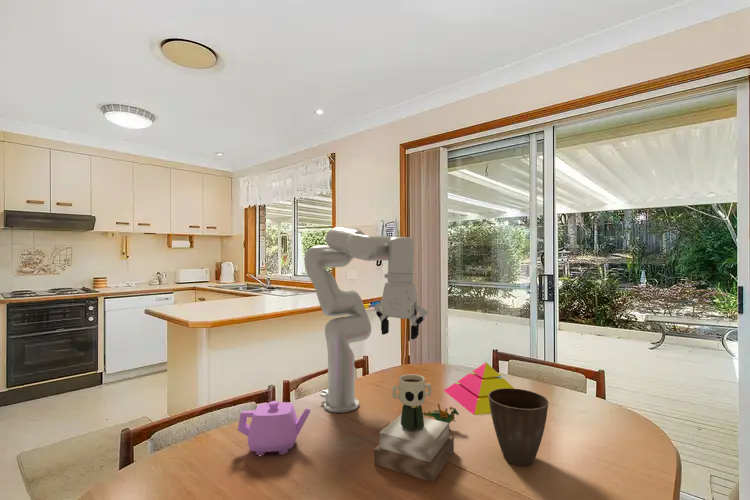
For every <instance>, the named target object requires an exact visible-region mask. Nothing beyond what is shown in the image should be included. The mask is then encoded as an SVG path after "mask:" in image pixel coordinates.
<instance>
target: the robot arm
mask: <svg viewBox="0 0 750 500" xmlns="http://www.w3.org/2000/svg"><path fill="white" fill-rule="evenodd" d="M325 242H326V244H327V245H325V244H324V245H315V246H311V247H309V248H308V249H307V250H306V251H305V253H304V254H305V255H304V267H305V270H306V271H305V272H306V274H307V275H308V277H309V279H310V281H311V283H312V285H313V287H314V290H315V293H316V296H317V300H318V304H319V305H320V308H321V312H322V313H323V315H324V316H326V317H331V318H333V317H335V318H333V319H330V320H328V322H327V323H326V324H325V326H324V336H325V340H326V346H327V389H322V390H321V393H320V394H319V396H320V397H321V398H322V399H324V398H325V401H324V402H323V407H324V409H325V410H326V411H328V412H332V413H338V414H340V413H341V414H342V413H348V412H352V411H355V410H356V409H358V407H359V406H360V401H359V400H358V399H357V398H356V397H355V395H356V393H355V387H356V386H355V385H356V384H355V355H354V352H353V350H352V349H351V346H350V344H352V343H358V342H363V341H365V340H367V339H368V338H369V337H370V336H371V334H372V325H371V321H370V317H369V316H368V312H367V311H366V308H365V304H364V301H363V300H362V298H361V296H360V294H359V293H358V292H357V291H355V290H353V289H340V288H339V285H338V283H337V280H336V277H334V275H332V273H330V272H329V271H328V270H327V269H326V268H342V267H346V266H347V265H349V264H350V263H351V262H352V260H354V259H358V260H361V261H367V262H370V261H371V262H374V261H387V273H384V276H383V277H384V278H385V279H387V280H386V281H387V282H385V284H384V286H383V292H382V298H381V299H382V300H381V302H378V303H376V304H374V305H373V308H374V311H375V312H376V316H377V317H378V318H379V321H380V330H381V335H383V336H384V335H387V334H389V329H390V327H389V326H390V325H389V324H390V320H389V319H388V318H395V319H403V320H409V321H410V323H412V325H410V339H411V340H415V339H417V338H418V337H419V332H420V331H419V328H420V327H419V326H420V325H421V323H422V322H424V321H425V319H426V316H427V315H428V313H429V312H428V310H427V309H425V308H424V307H422V306H421V305H420V304H418V295H417V294H418V293H417V292H418V291H417V287H416V284H415V283H414V265H415V263H414V259H415V257H414V256H415V255H414V254H415V240H414V239H413V238H412V237H409V236H407V237H406V236H381V235H366V234H365V233H364V232H363V231H362V230H361V229H359V228H356V227H342V226H341V227H340V226H339V227H333V228H331V229H330V230H329V231H328V232H326V235H325ZM418 312H419V314H420V315H419V317H418V316H417V315H418Z"/></svg>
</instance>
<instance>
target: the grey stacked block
mask: <svg viewBox="0 0 750 500" xmlns="http://www.w3.org/2000/svg"><path fill="white" fill-rule="evenodd" d="M401 415H402V413H401V414H399V415H398V416H397V417H396V418H394V419H393V421H391V422H390V423H389V424H388V425H387V426H386V427H384V428H383V429H382V430H381V431H379V444H378V445H377V446H376V447H375V448H374V453H373V454H374V457H373V458H374V466H375V465H376V466H379V467H382V468H385V469H388V470H391V471H394V472H398V473H402V474H405V475H409V476H411V477H414V478H418V479H420V480H424V481H426V482H430V483H434V481H436V479H437V478H438V476H439V474H440V473H441V472H442V470H443V468H444V467H445V465H446V464H447V463H448V461H449V459H450V458H451V457H452V456H453V453H454V452H455V442H454V441H455V440H454V439H455V438H454V436H452V435H450V430H449V429H450V428H449V427H450V423H447V422H442V421H438V420H436V419H432V418H430V417H429V418H428V417H425V416H423V419H424V427H423V428H421V429H419V430H417V426H415V427H414V430H408V429H405V428H403V427H402V425H401Z"/></svg>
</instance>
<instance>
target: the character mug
mask: <svg viewBox="0 0 750 500" xmlns="http://www.w3.org/2000/svg"><path fill="white" fill-rule="evenodd" d="M426 388H427V391H426ZM391 389H392V391H391V392H392V398H393V399H398V400H399V402H400V404H402V406H401V407H402V409H401V414H402V415H401V414H400V415H401V425H402V427H403V428H405V429H408V430H414V427H415V426H417V430H419V429H421V428H423V427H424V419H423V417H424V415H423V413H424V411H423V407H422V405H423V404H424V403H425V402H426V397H429V396H432V383H426V378H425V376H423V375H420V374H412V373H411V374H410V373H409V374H403V375H401V376H399V378H398V385H393V386H392V388H391ZM397 390H398V394H397Z"/></svg>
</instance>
